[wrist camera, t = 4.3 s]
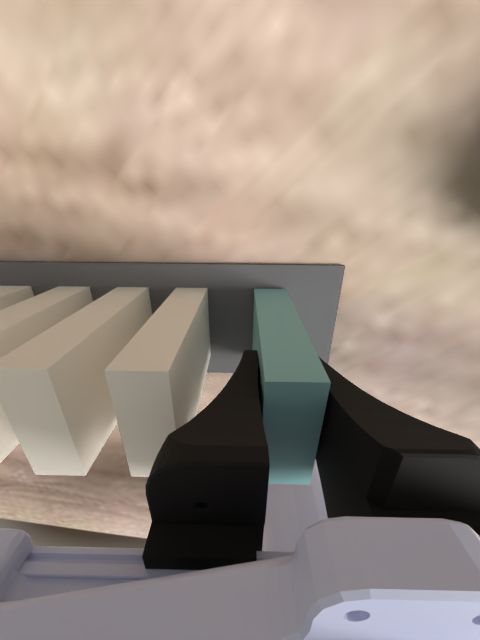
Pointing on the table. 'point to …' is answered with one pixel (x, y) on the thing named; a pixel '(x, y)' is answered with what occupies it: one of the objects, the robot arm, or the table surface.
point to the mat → (223, 294)
